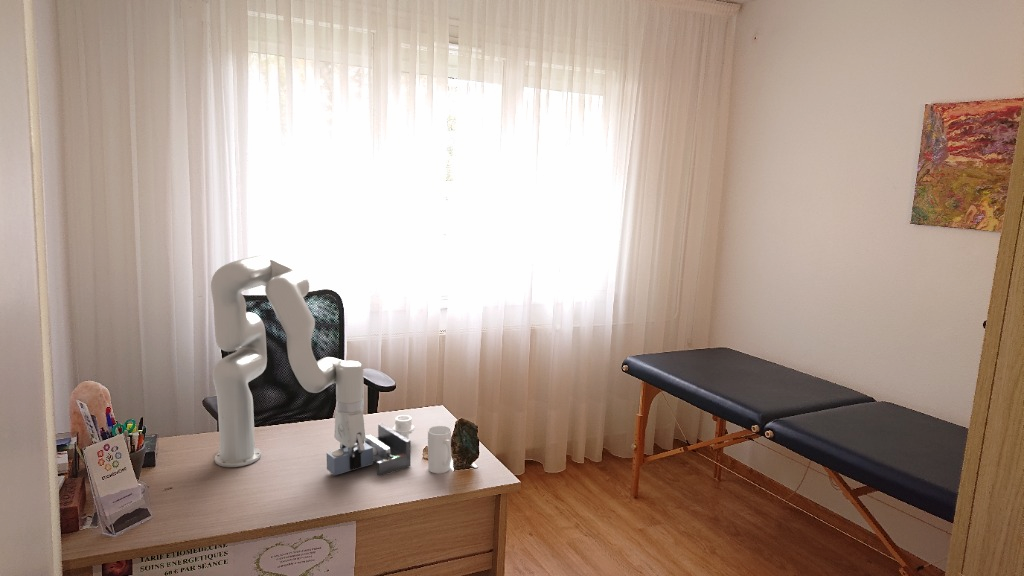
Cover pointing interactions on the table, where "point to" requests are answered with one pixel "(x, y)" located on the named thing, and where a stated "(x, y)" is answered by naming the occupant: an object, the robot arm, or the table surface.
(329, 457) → the block
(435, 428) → the mug
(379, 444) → the anvil plate
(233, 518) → the table surface
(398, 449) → the gauge frame
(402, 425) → the pipe fitting
